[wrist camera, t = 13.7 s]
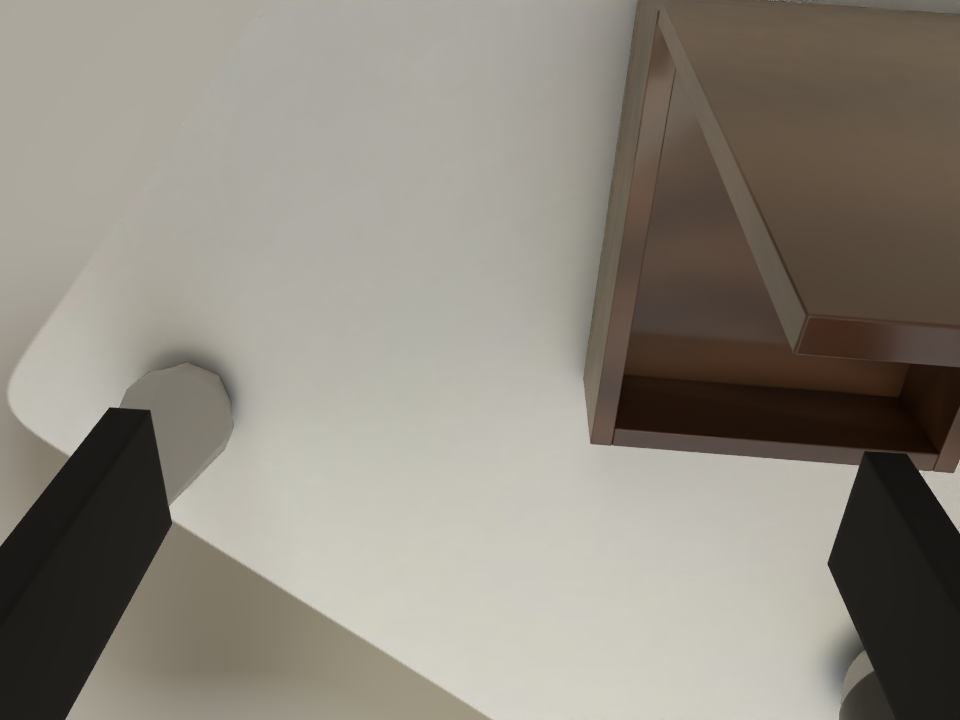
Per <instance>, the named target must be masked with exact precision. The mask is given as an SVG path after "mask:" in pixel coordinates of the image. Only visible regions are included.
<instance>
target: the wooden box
mask: <svg viewBox="0 0 960 720" xmlns="http://www.w3.org/2000/svg"><path fill="white" fill-rule="evenodd" d="M662 1H663V0H638V3H637V10H636V16H635V23H634V30H633V37H632V44H631V51H630V58H629V65H628V72H627V79H626V86H625V93H624V100H623V107H622V114H621V121H620V128H619V135H618V142H617V149H616V155H615V162H614V169H613V176H612V183H611V190H610V197H609V204H608V211H607V218H606V225H605V232H604V239H603V246H602V253H601V260H600V267H599V274H598V281H597V287H596V294H595V301H594V308H593V315H592V322H591V329H590V336H589V343H588V350H587V357H586V364H585V371H584V378H583V379H584V387H585V398H586V407H587V416H588V426H589V435H590V443H591V444H597V445H610V446H611V445H614V446H626V447H639V448H651V449H663V450H676V451H688V452H701V453H713V454H725V455H738V456H750V457H762V458H775V459H787V460H800V461H812V462H824V463H837V464H849V465H860V463H861V460H862V457H863V454H864V451H871V452H889V453H906V454H907V455H908V456H909V458H910V459H911V461H912V462H913V464H914V465H915V467H916V468H917V470H923V471H932V470H933V471H934V472H947V473H954V471H955V469H956V467H957V464H958V462H959V460H960V367H949V366H936V365H923V364H911V363H898V362H885V361H873V360H860V359H847V358H835V357H822V356H809V355H797V354H794V353H793V351H792V348H791V346H790V343H789V341H788V338H787V336H786V333H785V331H784V329H783V326H782V324H781V321H780V319H779V316H778V314H777V312H776V309H775V307H774V304H773V302H772V299H771V297H770V295H769V292H768V290H767V287H766V285H765V282H764V280H763V277H762V275H761V273H760V270H759V268H758V265H757V263H756V260H755V258H754V256H753V253H752V251H751V248H750V246H749V243H748V241H747V239H746V236H745V234H744V231H743V229H742V226H741V224H740V221H739V219H738V217H737V214H736V212H735V209H734V207H733V204H732V202H731V200H730V197H729V195H728V192H727V190H726V187H725V185H724V183H723V180H722V178H721V175H720V173H719V170H718V168H717V165H716V163H715V161H714V158H713V156H712V153H711V151H710V148H709V146H708V144H707V141H706V139H705V136H704V134H703V131H702V129H701V127H700V124H699V122H698V119H697V117H696V114H695V112H694V109H693V107H692V105H691V102H690V100H689V97H688V95H687V92H686V90H685V88H684V85H683V83H682V80H681V78H680V75H679V73H678V71H677V68H676V66H675V63H674V61H673V58H672V56H671V53H670V51H669V49H668V46H667V44H666V41H665V39H664V36H663V34H662V32H661V29H660V27H659V24H658V20H659V14H660V8H661V2H662ZM665 1H679V2H693V3H706V4H720V5H734V6H747V7H761V8H775V9H788V10H802V11H816V12H829V13H843V14H857V15H870V16H884V17H898V18H911V19H925V20H939V21H952V22H960V15H959V14H945V13H932V12H918V11H904V10H891V9H877V8H863V7H849V6H836V5H822V4H808V3H795V2H781V1H767V0H665Z"/></svg>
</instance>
